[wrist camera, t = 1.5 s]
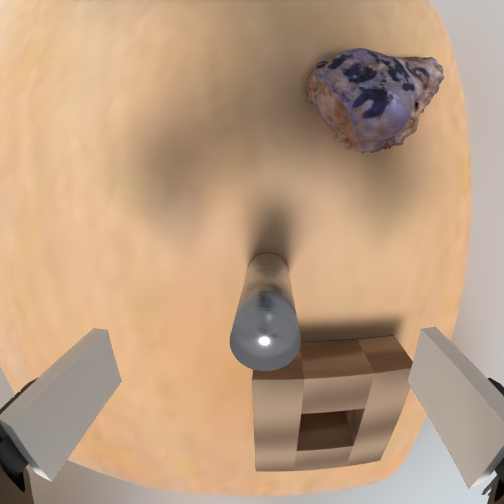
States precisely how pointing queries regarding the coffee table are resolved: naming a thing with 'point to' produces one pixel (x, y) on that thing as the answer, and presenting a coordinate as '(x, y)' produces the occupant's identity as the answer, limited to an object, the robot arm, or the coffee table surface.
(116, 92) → the coffee table surface
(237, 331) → the pin
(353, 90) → the purple lumpy piece
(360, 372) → the socket block
